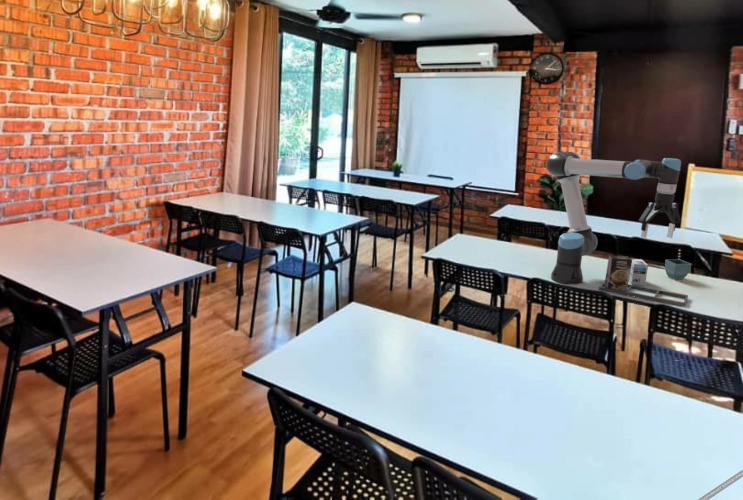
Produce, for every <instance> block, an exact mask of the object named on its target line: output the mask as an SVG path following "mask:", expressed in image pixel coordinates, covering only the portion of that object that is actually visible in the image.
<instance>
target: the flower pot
mask: <svg viewBox="0 0 743 500" xmlns="http://www.w3.org/2000/svg"><path fill="white" fill-rule="evenodd" d="M664 263H665V264H664V266H665V267H664V268H665V270H664V271H665V274H666V276H667V277H668V278H670V279H672V280H683V279H685V278H686V277H687V276H688V275H689V272H690V269H691V267H692V263H690V262H688V261H685V260H682V259H665V262H664Z"/></svg>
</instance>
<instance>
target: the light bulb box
mask: <svg viewBox="0 0 743 500" xmlns="http://www.w3.org/2000/svg"><path fill="white" fill-rule="evenodd" d="M631 259H632V264H631V270H630V276H629V282H628V283H630V285H635V286H646V282H647V275H648V268H649V264H648V263H646V262H645V261H644V260H643V259H638V258H631Z"/></svg>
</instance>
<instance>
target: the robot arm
mask: <svg viewBox="0 0 743 500" xmlns="http://www.w3.org/2000/svg"><path fill="white" fill-rule="evenodd" d="M681 166H682V160H681V159H679V158H674V157H673V158H671V157H669V158H668V157H664V158H663V159H662V160H661V161H653V160H648V159H647V160H646V159H636V160H634V161H626V160H625V161H623V160H611V159H610V160H609V159H608V160H607V159H606V160H605V159H591V158H590V159H589V158H588V159H587V158H581V157H580V156H579V155H578V154H577V153H576V152H573V151H563V152H555V153H552V154H551V155H549V157H548V158H547V160H546V162H545V168H546V170H547V172H548V173H549V174H551V175H552V176H553V177H554V176H555V177H556V181H557V182H558V183H560V186H561V189H562V190H561V191H562V196H563V201H564V205H565V210H566V215H567V219H568V225H569V229H568V230H567V232H565V233H562V234H561V235H560V236H559V239H558V242H557V244H558V245H557V252H556V253H557V254H556V264H555V266H554V267H553V269H552V272H551V276H550V277H551V278H550V279H551V280H552V281H554V282H557V283H561V284H566V285H580V284H582V283H583V280H584V276H583V272H582V267H581V266H582V260H583V258H582V257H584V256H586V255H589V254H591V253H592V252H594V251H595V250H596V248H597V246H598V237H597V236H596V234H594V233H593V231H592V230H593V229H592V227H591V226H590V225H588V222H587V217H586V211H585V208H584V207H585V206H584V202H583V197H582V193H581V187H580V181H579V179H580V177H581V176H582V175H583V176H593V177H607V178H622V179H629V180H633V181H634V180H640V179H643V178H644V179H645V178H651V179H658V183H657V186H656V193H655V197H654V199H655V201H654V202H648V204H647V207H646V209H644V211H643V212H642V214H641V216H640V217H639V219H638V222H639V223H641V228H640V229H641V234H640V237H641V238H644V239H646V238H647V236H648V232H649V231H648V230H649V226H650V225H649V223H650V222H651V221H652V219H653V218H654V217H655V216H657V215H658V214H662V213H664V214H666V216H667V217H668V219H669V221H670V223H668V229H667V234H666V238H669V239H673V236H674V232H675V230H676V226H678V225H679V224H680V223H682V221H681V216H680V215H681V214H680V212H679V203H677V202H674V200H675V195H676V194H675V193H676V191H677V185H678V181H679V176H680V171H681Z"/></svg>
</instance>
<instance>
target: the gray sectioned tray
mask: <svg viewBox="0 0 743 500" xmlns="http://www.w3.org/2000/svg"><path fill="white" fill-rule="evenodd" d="M604 284H605V280H603V282H602V283H601V284H600V286H599V287H598V291H603V292H607V293H612V294H617V295H622V296H627V295H629V296H628V297H632V296H635V297H634V298H637V297H639V298H638V299H642V298H643V300H647V301H653V302H659V303H664V304H668V305H669V304H670V305H674V306H679V307H683V308H684V307H686V304H687V302H688V299H689V295H688V294H684V293H679V292H675V291H669V290H664V289H656V288H650V287H645V286H641V285H635V284H631V283H630V284H629V283H628V288H627V291H622V290H617V289H612V288H606V287H604ZM635 289H636V290H635ZM632 290H635V291H641V292H648V293H652V294H654V296H652V295H648V294H641V293H637V292H631V291H632ZM659 295H663V296H668V297H674V298H679V299H684V301H681V300H675V299H670V298H666V297H659Z"/></svg>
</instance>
